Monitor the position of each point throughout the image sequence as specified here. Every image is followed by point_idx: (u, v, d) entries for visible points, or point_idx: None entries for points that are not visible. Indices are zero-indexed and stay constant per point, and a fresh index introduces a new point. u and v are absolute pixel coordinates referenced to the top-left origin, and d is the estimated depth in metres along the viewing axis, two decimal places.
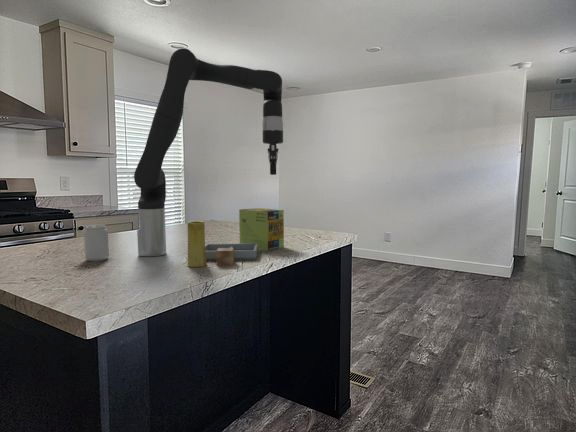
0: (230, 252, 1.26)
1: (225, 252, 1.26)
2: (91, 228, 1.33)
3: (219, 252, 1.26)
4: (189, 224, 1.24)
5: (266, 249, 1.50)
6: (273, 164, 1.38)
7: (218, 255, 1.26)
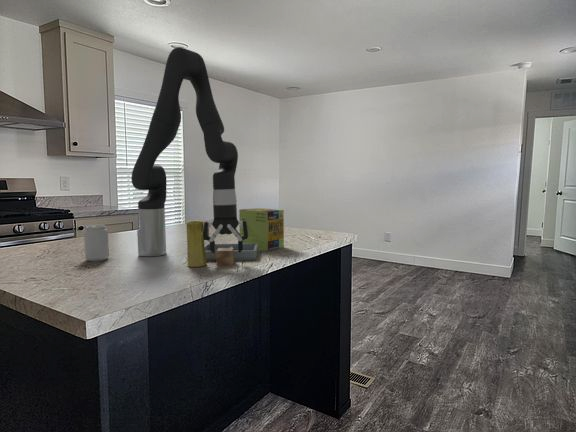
0: (230, 252, 1.26)
1: (225, 252, 1.26)
2: (91, 228, 1.33)
3: (219, 252, 1.26)
4: (188, 224, 1.24)
5: (266, 249, 1.50)
6: (242, 241, 1.28)
7: (218, 255, 1.26)
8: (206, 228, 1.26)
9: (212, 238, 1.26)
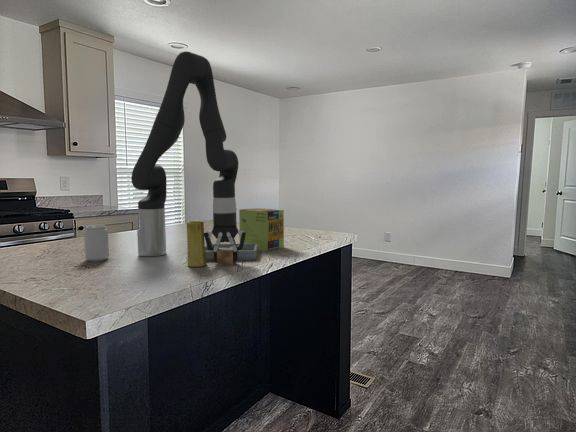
0: (230, 252, 1.26)
1: (225, 252, 1.26)
2: (91, 228, 1.33)
3: (219, 252, 1.26)
4: (188, 224, 1.24)
5: (266, 249, 1.50)
6: (237, 251, 1.28)
7: (218, 255, 1.26)
8: (207, 238, 1.26)
9: (216, 248, 1.27)
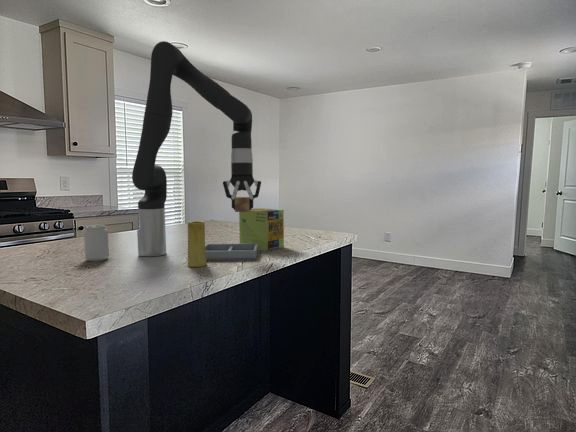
0: (247, 199, 1.37)
1: (243, 199, 1.37)
2: (91, 228, 1.33)
3: (237, 199, 1.37)
4: (189, 224, 1.24)
5: (266, 249, 1.50)
6: None
7: (236, 202, 1.37)
8: (226, 186, 1.37)
9: (234, 196, 1.38)
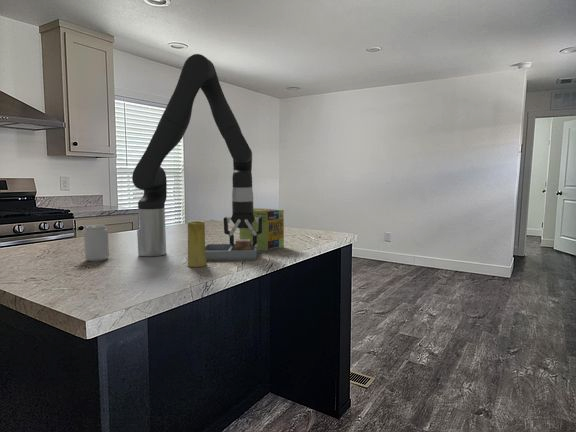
0: (248, 242, 1.38)
1: (243, 242, 1.38)
2: (91, 228, 1.33)
3: (238, 242, 1.38)
4: (189, 224, 1.24)
5: (266, 249, 1.50)
6: None
7: (237, 245, 1.38)
8: (226, 223, 1.39)
9: (232, 232, 1.39)
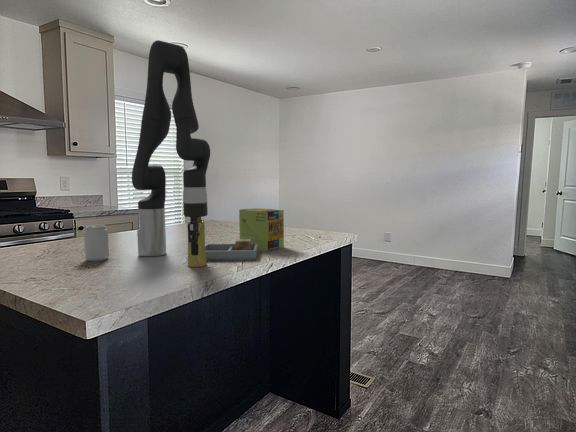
0: (248, 242, 1.38)
1: (243, 242, 1.38)
2: (91, 228, 1.33)
3: (238, 242, 1.38)
4: None
5: (266, 249, 1.50)
6: None
7: (237, 245, 1.38)
8: (196, 230, 1.20)
9: (198, 239, 1.23)
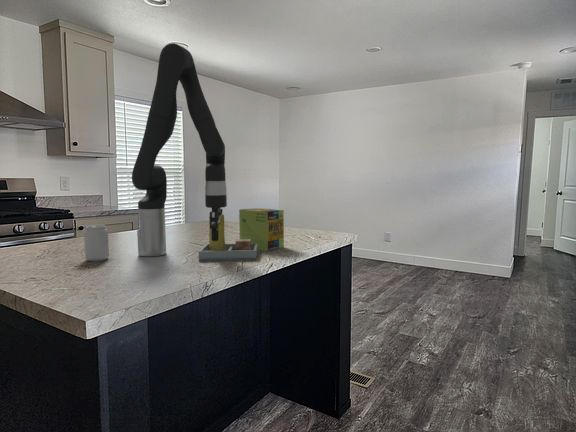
0: (248, 242, 1.38)
1: (243, 242, 1.38)
2: (91, 228, 1.33)
3: (238, 242, 1.38)
4: None
5: (266, 249, 1.50)
6: None
7: (237, 245, 1.38)
8: (217, 217, 1.33)
9: (218, 226, 1.36)
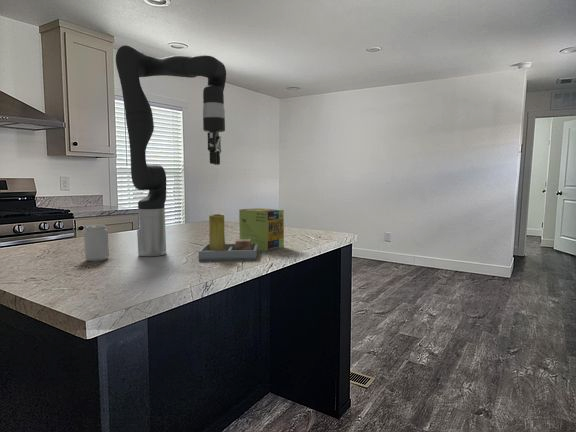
0: (248, 242, 1.38)
1: (243, 242, 1.38)
2: (91, 228, 1.33)
3: (238, 242, 1.38)
4: (211, 217, 1.38)
5: (266, 249, 1.50)
6: None
7: (237, 245, 1.38)
8: (215, 138, 1.31)
9: (216, 149, 1.33)
